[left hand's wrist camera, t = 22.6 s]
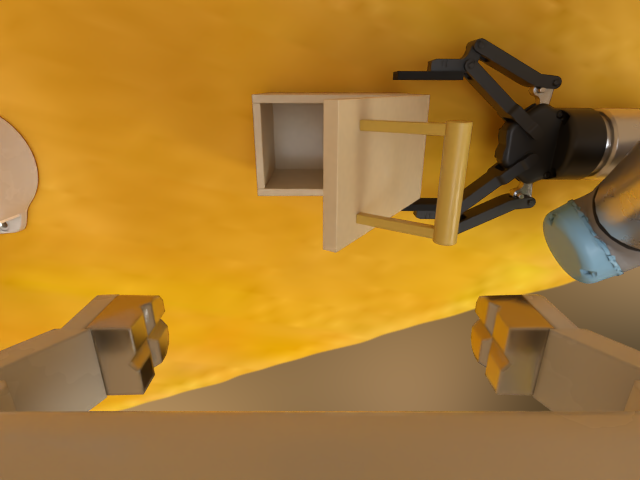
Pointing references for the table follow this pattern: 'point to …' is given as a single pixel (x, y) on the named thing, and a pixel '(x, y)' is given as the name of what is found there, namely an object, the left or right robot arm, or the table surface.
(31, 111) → the table surface
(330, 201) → the lid
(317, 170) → the chest
